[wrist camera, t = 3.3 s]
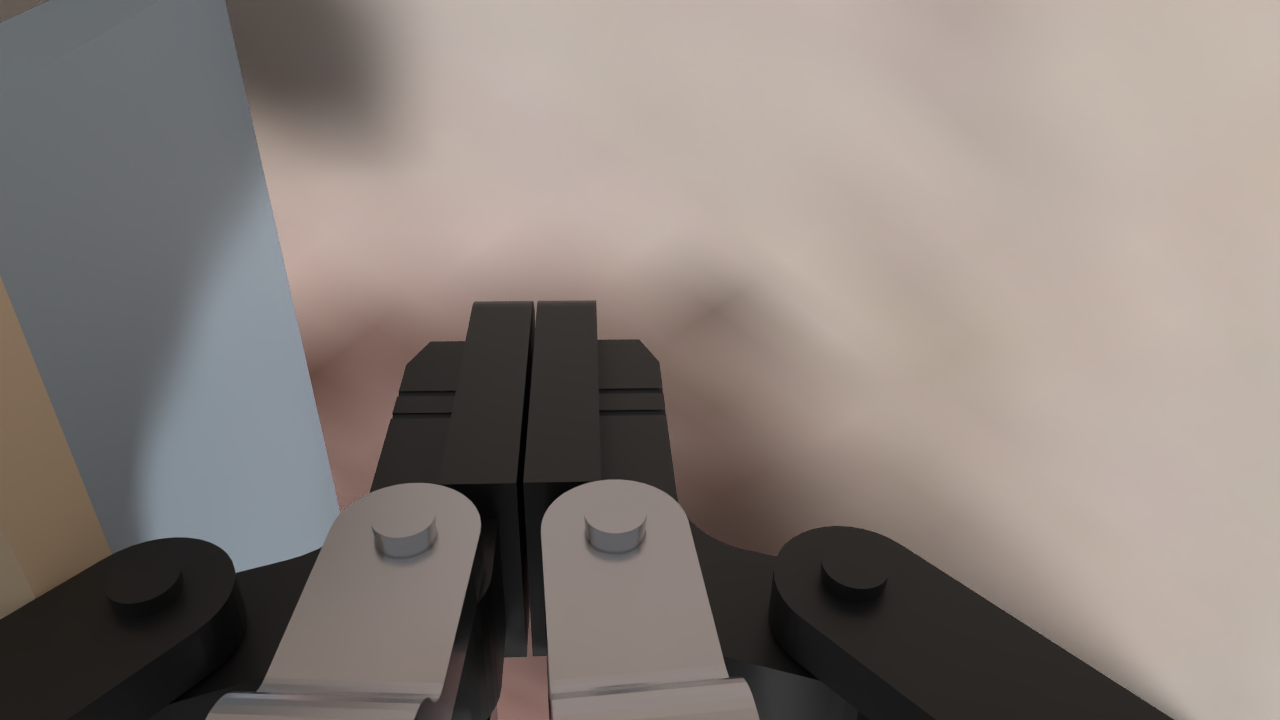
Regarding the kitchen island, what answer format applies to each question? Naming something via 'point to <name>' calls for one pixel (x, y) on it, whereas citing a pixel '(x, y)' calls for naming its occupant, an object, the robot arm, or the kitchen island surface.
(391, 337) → the kitchen island surface
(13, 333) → the gate
